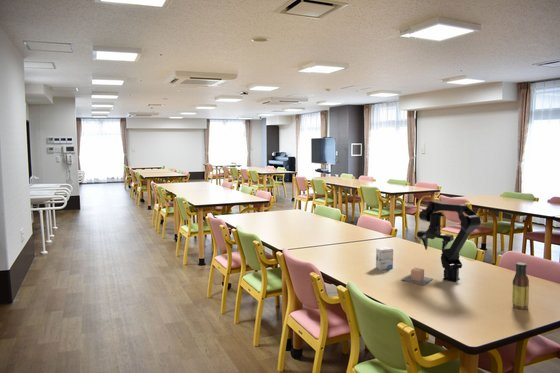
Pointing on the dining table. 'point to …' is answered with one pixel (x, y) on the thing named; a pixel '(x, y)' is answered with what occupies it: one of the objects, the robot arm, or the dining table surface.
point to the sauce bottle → (520, 287)
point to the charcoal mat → (422, 282)
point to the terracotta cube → (417, 274)
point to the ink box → (384, 258)
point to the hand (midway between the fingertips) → (434, 251)
